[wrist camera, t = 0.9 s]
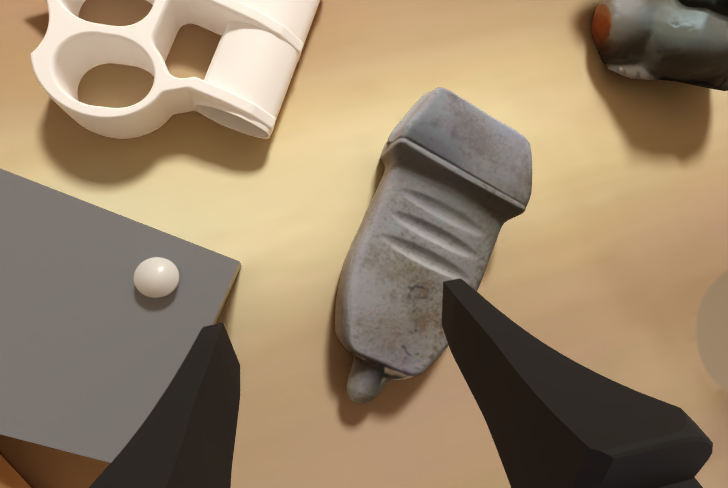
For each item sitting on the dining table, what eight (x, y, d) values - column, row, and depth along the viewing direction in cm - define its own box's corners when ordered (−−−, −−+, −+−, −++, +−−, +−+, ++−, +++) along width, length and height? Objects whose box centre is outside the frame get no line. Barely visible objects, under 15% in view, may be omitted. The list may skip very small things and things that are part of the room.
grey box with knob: (168, 432, 23) (144, 478, 17) (-109, 354, 20) (-240, 380, 15) (241, 265, 25) (239, 261, 19) (-3, 171, 22) (-85, 134, 16)
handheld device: (279, 368, 25) (286, 387, 21) (401, 96, 29) (428, 62, 25) (414, 421, 27) (447, 448, 23) (510, 160, 31) (554, 139, 27)
